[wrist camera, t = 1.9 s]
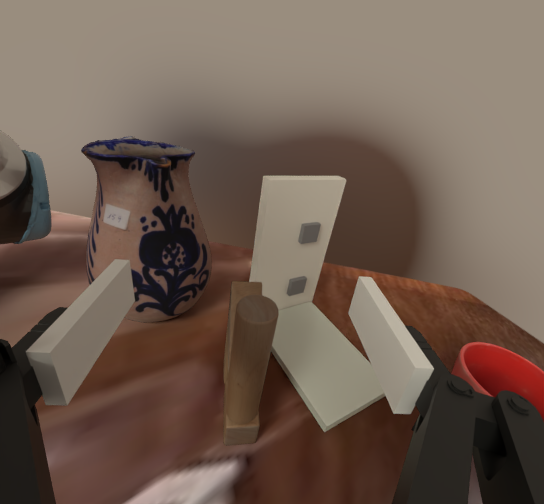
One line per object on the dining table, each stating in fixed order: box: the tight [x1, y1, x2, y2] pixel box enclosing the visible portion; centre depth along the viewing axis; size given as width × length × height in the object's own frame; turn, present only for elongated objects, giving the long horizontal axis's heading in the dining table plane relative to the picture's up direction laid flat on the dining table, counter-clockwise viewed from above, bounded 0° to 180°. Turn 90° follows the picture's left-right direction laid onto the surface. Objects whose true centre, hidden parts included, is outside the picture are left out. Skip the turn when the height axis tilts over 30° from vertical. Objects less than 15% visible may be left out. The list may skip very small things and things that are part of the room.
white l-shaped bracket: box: [249, 176, 385, 432], centre depth 37 cm, size 21×13×24 cm, turn 30°
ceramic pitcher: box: [81, 136, 212, 323], centre depth 42 cm, size 18×21×25 cm
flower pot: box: [451, 342, 544, 421], centre depth 34 cm, size 11×11×10 cm
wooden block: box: [223, 281, 279, 445], centre depth 30 cm, size 4×11×18 cm, turn 8°
